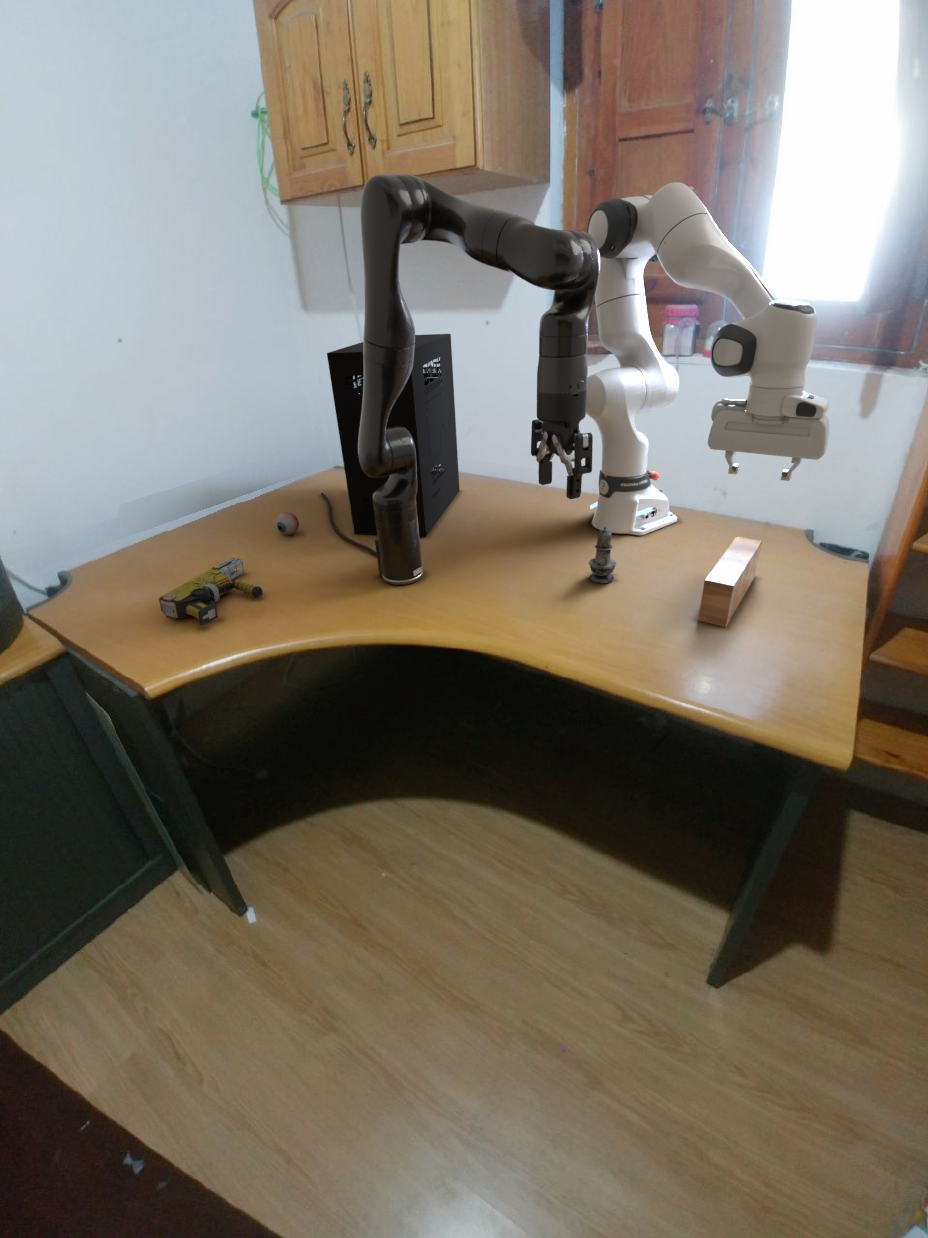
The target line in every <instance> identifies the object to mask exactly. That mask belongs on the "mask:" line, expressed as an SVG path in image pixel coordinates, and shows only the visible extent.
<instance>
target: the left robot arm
mask: <svg viewBox="0 0 928 1238" xmlns="http://www.w3.org/2000/svg"><path fill="white" fill-rule="evenodd" d="M359 211H360V217H359V218H360V232H361V234H360V235H361V245H362V246H361V247H362V248H361V250H362V263H363V281H364V282H363V283H364V286H363V287H364V289H363V290H364V292H363V293H364V295H363V296H364V301H363V302H364V315H363V316H364V317H363V318H364V321H363V336H362V337H363V339H362V342H363V400H362V411H361V420H360V428H359V437H358V456H359V462H360V465H361V468H362V470H363V472H364V473H365V474H366V475H367V476H368V477H371V478H380V477H385V476H389V478H388V479H387V481H386V482H385V483H384V484H383V485H382V486H381V487H380V488H379V489H377V490H376V491H375V492H374V494H373V506H374V513H375V520H376V528H377V537H375V538H374V545H375V550H374V549H373V548H371V547H369V546H367V545H365V544H362V543H360V542H358V541H355V540H353V539H352V538H349V537H348V536H346V535H345V534H344V533H342V532H341V531H340V530H339V529H338V528H337V526H336V524H335V522H334V519H333V514H332V507H331V506H332V505H331V502H330V499H329V498H328V497H327V496H326V494H325V493H324V492H320V496H321V497H322V498H323V499H324V500H325V502H326V504H327V510H328V511H327V512H328V518H329V519H328V520H329V523H330V525H331V527H332V529H333V530H334V532H335V533H336V534H337V535H338V536H339V537H341V538H342V539H344V540H345V541H346V542H348V543H350V544H352V545H354V546H356V547H359V548H361V549H364V550H365V551H368V552H369V553H371V554H372V555H373V556H375V557H376V559H377V560H376V561H377V567H378V575H379V578H382V580H383V581H384V582H385V583H386V584H389V585H392V586H403V585H404V586H405V585H410V584H413V583H416V582H419V581H420V580H422V578H423V577H424V569H423V560H422V559H423V558H422V548H421V538H420V537H421V536H419V526H418V516H417V505H416V494H417V463H416V450H415V445H414V441H413V438H412V436H411V434H410V432H409V431H408V430H407V429H406V428H404V427H402V426H394V427H389V428H386V427H387V421H388V417H389V414H390V411H391V409H392V407H393V405H394V403H395V402H396V400H397V398H398V397H399V395H400V393H401V391H402V390H403V388H404V386H405V384H406V383H407V381H408V379H409V377H410V374H411V372H412V368H413V361H414V348H415V335H416V327H415V324H414V320H413V317H412V315H411V312H410V310H409V307H408V305H407V302H406V300H405V298H404V295H403V293H402V289H401V284H400V275H399V274H400V273H399V272H400V252H401V245H407V244H415V243H417V242H421V241H428V242H429V241H430V242H441V243H446V244H450V245H452V246H455V247H456V248H457V249H459V250H460V251H461V252H463V253H464V254H465V255H466V256H467V257H469V258H471V259H472V260H474V261H476V262H478V263H480V264H483V265H485V266H488V267H491V268H494V269H497V270H499V271H503V272H506V273H509V274H514V275H515V276H516V277H518V278H520V279H521V280H523V281H525V282H527V283H529V284H530V285H533V286H535V287H537V288H540V289H543V290H548V291H553V296H552V297H553V298H552V302H551V306H550V308H549V309H548V310H547V311H545V312H544V313H543V314H542V315H541V317H540V319H539V326H538V327H539V328H538V342H539V343H538V362H537V369H536V370H537V371H536V419H532V420H531V435H530V436H531V437H530V455H531V456H532V457H535V460H536V462H537V463H538V484H539V485H541V486H545V485H550V484H552V481H553V461H552V460H553V458H554V456H555V455H556V456H557V457H559V460H560V463H562V464H563V465H564V467H565V470H566V473H567V476H566V493H565V494H566V495H565V496H566V498H567V499H569V500H575V499H578V498H580V497H581V495H582V484H583V482H582V481H583V475H584V474H591V473H592V472H593V443H594V442H593V440H594V439H593V438H594V437H593V436H594V435H593V434H592V432H584V433H583V432H581V430H580V422H581V421H582V420H584V419H585V418H586V415H587V413H586V399H587V378H588V377H589V375H588V373H589V367H588V339H589V334H588V333H589V320H590V316H591V312H592V309H593V306H594V305H593V304H594V302H595V292H596V288H597V284H598V279H599V272H600V255H599V249H598V246H597V243H596V241H595V239H594V238H593V237H592V236H591V235H590V234H589V233H587V231H585V230H580V229H579V230H577V229H576V230H575V229H573V230H572V229H571V230H570V229H555V228H549V227H545V226H540V225H537V224H535V222H533V221H532V220H530V219H529V218H527V217H524V216H522V215H518V214H514V213H511V212H507V211H504V210H500V209H497V208H493V207H488V206H484V205H480V204H476V203H473V202H470V201H467V200H465V199H464V200H463V199H462V198H459V197H456V196H454V195H452V194H450V193H448V192H447V191H445V190H442V189H441V188H439V187H437V186H436V185H434V184H432V183H431V182H428V181H426V180H425V179H423V178H421V177H419V176H416V175H414V174H411V173H410V174H408V173H385V174H383V173H382V174H376V175H373V176H371V177H370V178H369V179H368V180H367V181H366V183H365V185H364V186H363V189H362V192H361V198H360V210H359ZM538 443H539V445H538ZM573 452H574V453H573ZM583 460H584V461H583Z"/></svg>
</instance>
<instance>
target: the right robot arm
mask: <svg viewBox="0 0 928 1238" xmlns="http://www.w3.org/2000/svg"><path fill="white" fill-rule="evenodd" d="M586 228H587V229H586V232H587V233H589V234H590V235H591V236H592V237H593V238H594V239H595V241H596V243H597V246H598V249H599V255H600V272H599V279H598V284H597V288H596V292H595V297H594V303H595V312H596V313H595V314H596V320H597V321H596V322H597V328H598V329H597V331H598V337H599V342H600V344H601V346H602V347H603V348H604V349H605V350H606V351H608V352H610V353H611V354H612V355H613V356H614V357H615V358H616V359H617V362H618V365H619V366H620V367H612V368H606V369H603V370H601V371H598V372H595V373H594V374H591V375H588V377H587V399H586V415H587V416H588V417H590V418H591V419H592V420H593V422H594V423H595V424H596V426H597V428H598V431H599V433H600V438H601V468H600V470H599V474H598V492H599V493H598V498H597V501H596V502H594V503H592V504H590V507H589V508H590V510H592V509H594V508H595V511H594V514H593V517H592V520H591V525H592V526H593V527H594V528H595V529H597V530H599V531H601V530H604V529H603V528H604V527H606V528H607V529H606V530H608V531H610V532H611V534H623V535H625V534H626V535H632V536H633V535H634V536H645V535H646V534H650V533H652V532H654V531H657V530H660V529H662V528H665V527H668V526H670V525H672V524H675V523H677V522H678V516H677V515H676V514H675V513H674V512H672V511H670V503H669V502H670V501H669V498H668V497H667V496H666V495H665V494H664V493H663V490H661V489H658V488H656V487H655V486H654V485H652V483H651V480H653V481H658V479H659V478H660V473H659V472H657V471H654V470H651V471H649V470H648V469H647V466H648V458H649V457H648V455H649V447H650V443H649V439H648V437H647V436H646V435H645V434H644V433H643V432H641V431H639V430H638V429H637V427H636V421H635V419H636V415H638V414H642V413H649V412H654V411H657V410H659V409H662V408H663V407H666V406H668V405H670V404H671V403H673V402H674V400H675V399H676V398H677V396H678V393H679V389H680V378H679V375H678V371H677V370H676V369H675V368H674V366H672V365H671V364H669V363H668V362H667V361H666V360H665V359H664V358H663V356H662V355H661V353H660V352H659V350H658V349H657V346H656V344H655V342H654V340H653V337H652V334H651V330H650V325H649V317H648V309H647V300H646V292H645V291H646V290H645V285H644V270H645V267H646V265H647V263H648V262H649V263H651V264H657V263H660V266H661V268H662V269H663V270H664V272H665V274H666V275H667V276H668V277H669V278H670V279H671V280H672V281H673V282H674V283H675V284H676V285H678V286H680V287H683V288H685V289H692V290H697V291H703V292H708V293H712V294H714V295H717V296H720V297H722V298H723V299H726V300H727V301H728V302H729V303H731V305H732V306H733V307H734V308H735V310H736V311H737V313H738V314H739V316H740V317H741V318H742V319H740V320H737V321H734V322H730V323H728V324H726V325H724V326H722V327H720V329H719V330H718V331H717V333H716V334H715V335H714V337H713V340H712V342H711V345H710V350H709V351H710V353H709V356H710V363H711V366H712V368H713V369H714V371H715V372H716V373H717V375H719V376H721V377H724V378H731V379H734V378H742V377H749V378H750V382H749V386H748V394H747V399H730V398H723V399H721V400H719V401H716V403H715V404H713V406H712V408H711V416H710V417H711V421H712V424H711V427H710V430H709V434H708V438H707V446H708V447H709V449H710V450H715V451H725V452H724V458H725V460H726V463H727V465H728V470H727V474H728V475H735V476H736V475H737V474H738V473H739V467H740V463H736V462H735V459H734V455H736V453H745V454H755V455H763V456H765V455H766V456H774V457H783V458H791V462H790V463H791V464H792V465H791V466H790V467H789V468H784V469H783V470H782V471H781V476H780V481H785V482H790V480H791V478H792V475H793V471H794V470H795V469H797V467H799V465H800V464H801V462H802V460H803V459H805V460H813V461H814V460H815V461H817V460H819V459H821V458H822V457H824V456H825V454H826V452H827V447H828V443H829V438H830V437H829V435H830V420H829V417H828V416H827V415H826V414H827V412H828V410H829V405H830V401H829V400H828V399H826V398H825V397H821V396H818V395H816V394H813V393H810V392H808V391H805V390H804V389H805V385H806V377H805V374H806V369H807V367H808V364H809V362H810V360H811V358H812V354H813V349H814V343H815V338H816V333H817V313H816V309H815V307H813V306H812V304H810V303H808V302H806V301H802V300H796V299H777V298H776V296H775V295H774V293H773V291H771V289H770V288H769V286H768V285H767V284H766V282H765V281H764V280H763V277H761V276H760V274H759V273H758V271H757V270H756V269H755V267H753V264H751V263H750V262H749V261H748V260H747V259H746V258H745V257H744V256H743V255H742V254H741V252H739V251H738V250H737V249H736V248H735V247H734V246H733V245H732V244H731V243H730V242H729V241H728V239H727V238H726V236H725V235H724V234H723V233H722V231H721V230H720V229H719V227H718V225H717V224H716V222H715V220H714V219H713V217H712V215H711V214H710V212H709V210H708V209H707V207H706V206H705V204H704V202H702V201H701V199H700V198H699V197H698V196H697V195H696V193H695V192H694V191H693V190H692V189H691V188H690V187H689V186H688V185H686V183H683V182H679V181H675V182H669V183H666V184H664V185H663V186H661V187H660V188H658V189H657V190H656V191H655V192H654V193H653V194H639V195H635V196H627V197H622V198H621V197H620V198H619V197H613V198H609V199H607V200H604V201H601V202H600V203H598V204H597V205H596V206H595V207H594V209H592V212H591V214H590V216H589V219H588V223H587V227H586Z"/></svg>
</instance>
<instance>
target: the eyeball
mask: <svg viewBox="0 0 928 1238" xmlns="http://www.w3.org/2000/svg"><path fill="white" fill-rule="evenodd" d="M299 525H300V522H299V519H298V517H297V516H296V515H295V514H294V513H292V512H287V511H286V512H282V513H280V514H279V515H278V516H277V517H276V520H275V527H276V529H277V530H278V531H279V532H280V533H281V534H282V535H285V536H286V535H287V536H289V535H293V534H295V533H296V532H297V531H298V529H299Z"/></svg>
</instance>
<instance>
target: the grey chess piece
mask: <svg viewBox="0 0 928 1238" xmlns="http://www.w3.org/2000/svg"><path fill="white" fill-rule="evenodd" d="M603 529H604V530H599V531H598V533H597V538H596V539H597V540H596V544H595V546H594V548H595V557H594V558H591V559H590V560H589V561H588V565H589V568H590V572H592V573H590V575H589V576H588V578H589V580H590V581H592V582H593V583H597V584H609V583H612V582H613V581H614V580H615V577H614V575H613V574H612V573H613V572H614V570H615V569H616V566H617V562H616V560H614V559H613V558H612V557H611V552H612V549H613V546H612V533H611V532H610V531H608V530H606V529H607V528H606V527H604V528H603Z"/></svg>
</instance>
